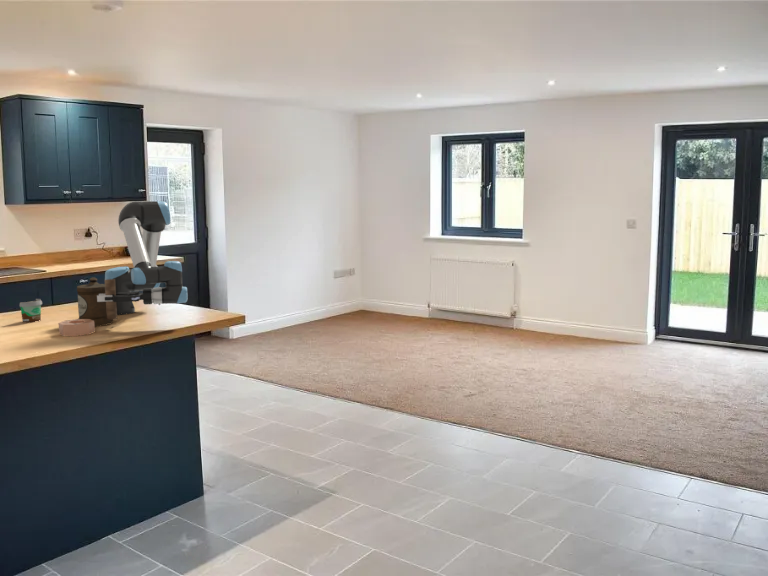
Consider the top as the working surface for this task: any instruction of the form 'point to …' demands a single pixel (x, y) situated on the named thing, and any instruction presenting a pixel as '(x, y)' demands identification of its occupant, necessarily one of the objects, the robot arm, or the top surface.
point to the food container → (31, 310)
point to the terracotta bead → (76, 327)
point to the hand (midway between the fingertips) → (98, 297)
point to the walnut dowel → (110, 305)
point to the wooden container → (92, 303)
